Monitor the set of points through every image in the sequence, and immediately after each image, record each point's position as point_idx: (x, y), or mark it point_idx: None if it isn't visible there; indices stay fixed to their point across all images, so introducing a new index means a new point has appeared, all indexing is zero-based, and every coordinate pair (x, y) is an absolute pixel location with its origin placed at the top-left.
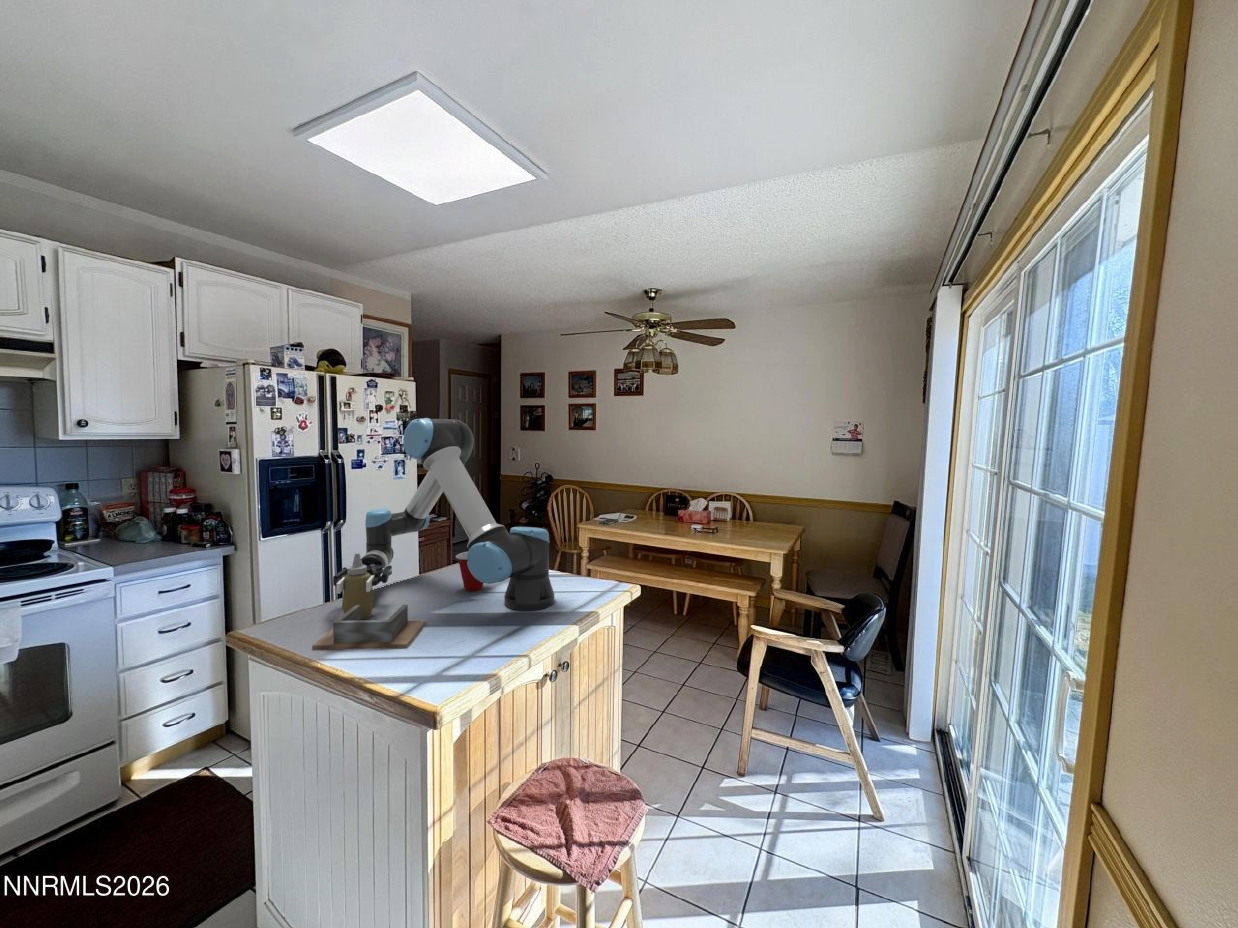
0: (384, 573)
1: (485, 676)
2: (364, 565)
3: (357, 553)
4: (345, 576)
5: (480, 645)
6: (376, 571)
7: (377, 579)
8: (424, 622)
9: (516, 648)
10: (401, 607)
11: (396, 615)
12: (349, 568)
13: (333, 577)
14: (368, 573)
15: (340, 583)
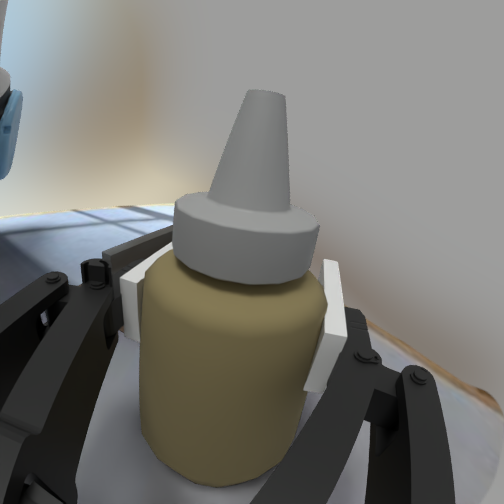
0: (50, 277)
1: (127, 207)
2: (190, 203)
3: (264, 91)
4: (323, 296)
5: (80, 228)
6: (40, 355)
7: (123, 269)
8: (79, 285)
9: (64, 216)
10: (125, 247)
11: (157, 231)
12: (303, 210)
13: (423, 372)
14: (162, 258)
15: (322, 268)
